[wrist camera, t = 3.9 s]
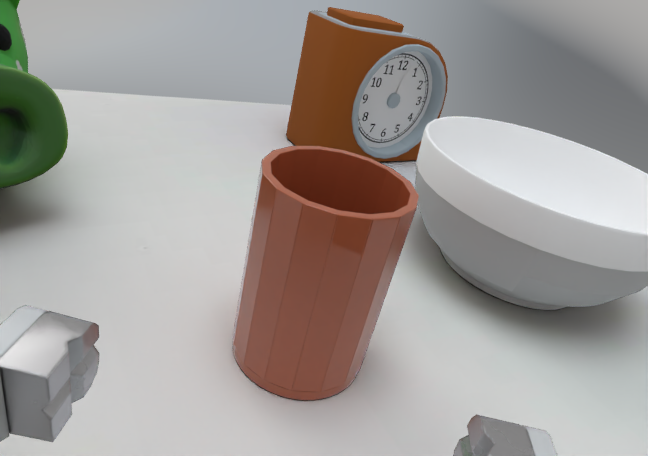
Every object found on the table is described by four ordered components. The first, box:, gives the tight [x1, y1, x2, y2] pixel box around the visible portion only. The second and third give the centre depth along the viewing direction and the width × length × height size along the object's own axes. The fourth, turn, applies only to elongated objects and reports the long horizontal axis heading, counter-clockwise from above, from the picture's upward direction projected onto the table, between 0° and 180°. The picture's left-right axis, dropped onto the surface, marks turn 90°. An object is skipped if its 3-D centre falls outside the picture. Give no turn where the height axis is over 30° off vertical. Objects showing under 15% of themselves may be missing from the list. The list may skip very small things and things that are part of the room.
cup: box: [233, 146, 419, 400], centre depth 23 cm, size 7×7×10 cm
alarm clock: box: [286, 7, 448, 162], centre depth 51 cm, size 15×8×14 cm, turn 122°
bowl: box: [415, 116, 648, 310], centre depth 37 cm, size 19×19×9 cm
